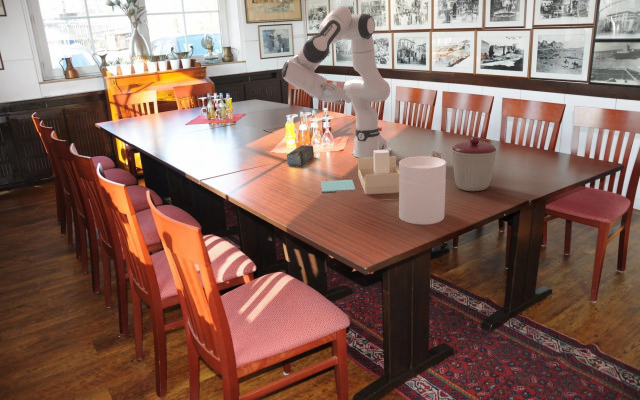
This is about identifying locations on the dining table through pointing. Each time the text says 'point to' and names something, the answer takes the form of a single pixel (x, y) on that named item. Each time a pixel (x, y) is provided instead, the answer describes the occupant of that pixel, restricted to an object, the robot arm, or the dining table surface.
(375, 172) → the box
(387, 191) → the beige open box
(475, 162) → the canister
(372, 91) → the robot arm
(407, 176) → the canister
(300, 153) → the beverage carton
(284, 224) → the dining table surface
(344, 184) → the mat
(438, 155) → the architectural model
